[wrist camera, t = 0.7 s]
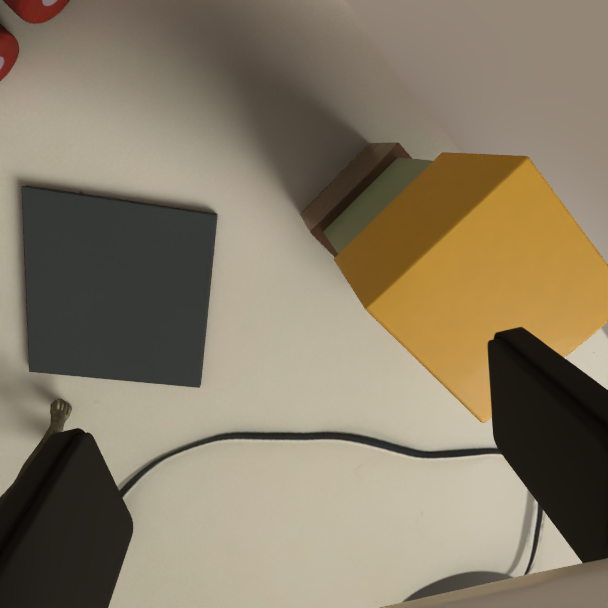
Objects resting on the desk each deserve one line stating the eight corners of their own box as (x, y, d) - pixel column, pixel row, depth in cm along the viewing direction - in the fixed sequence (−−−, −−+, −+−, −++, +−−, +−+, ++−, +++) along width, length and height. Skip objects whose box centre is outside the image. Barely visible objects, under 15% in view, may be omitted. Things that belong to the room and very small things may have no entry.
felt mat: (25, 185, 28) (20, 186, 27) (217, 213, 30) (216, 215, 29) (33, 368, 32) (28, 372, 32) (200, 384, 34) (199, 388, 33)
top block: (442, 151, 17) (528, 154, 12) (526, 255, 19) (635, 301, 14) (332, 258, 19) (363, 308, 13) (422, 347, 20) (483, 425, 15)
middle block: (397, 156, 23) (441, 160, 18) (460, 230, 25) (518, 255, 19) (322, 231, 24) (341, 258, 19) (387, 297, 26) (422, 340, 20)
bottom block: (369, 142, 29) (398, 142, 23) (431, 213, 31) (472, 230, 25) (299, 214, 30) (309, 232, 24) (363, 277, 32) (386, 309, 26)
